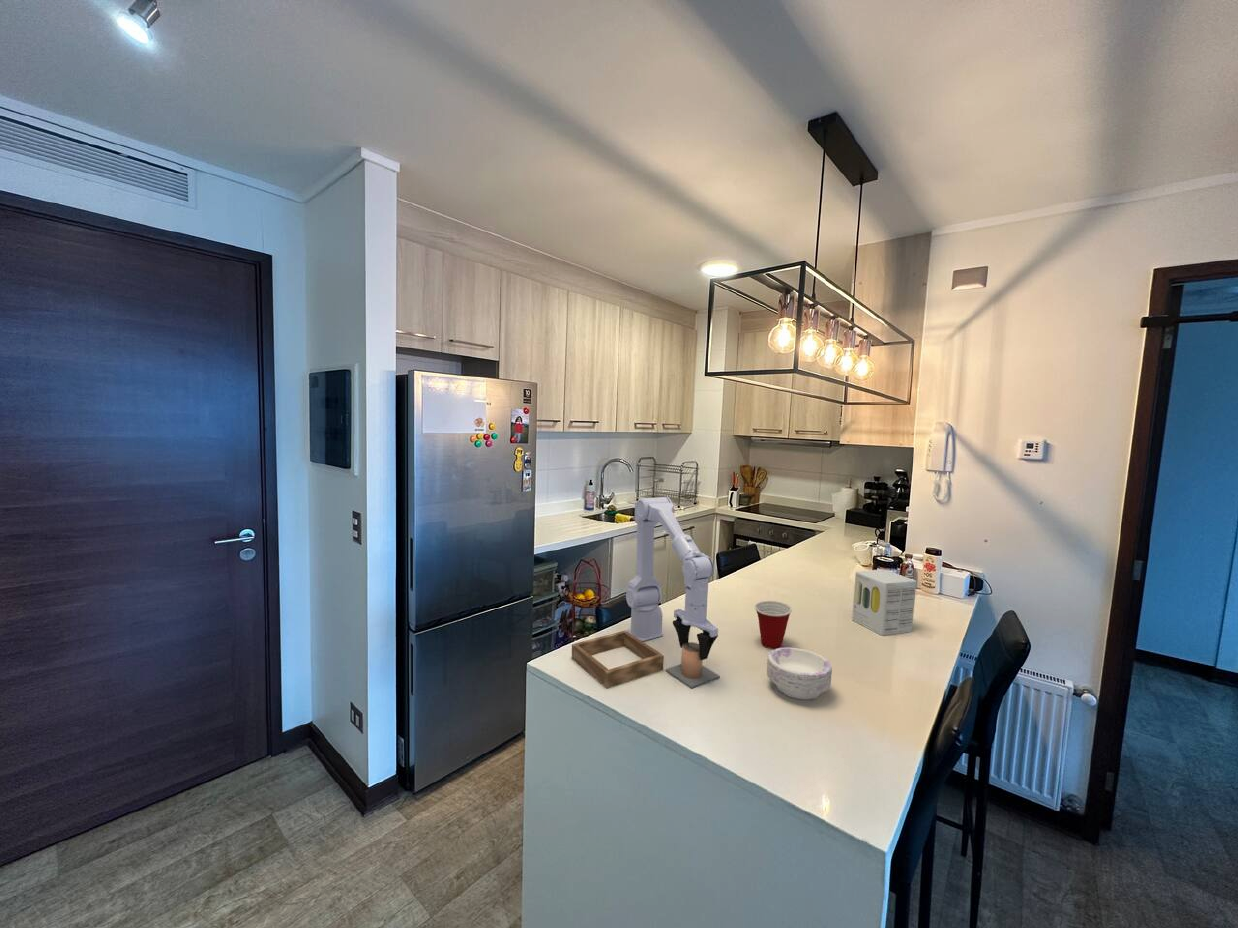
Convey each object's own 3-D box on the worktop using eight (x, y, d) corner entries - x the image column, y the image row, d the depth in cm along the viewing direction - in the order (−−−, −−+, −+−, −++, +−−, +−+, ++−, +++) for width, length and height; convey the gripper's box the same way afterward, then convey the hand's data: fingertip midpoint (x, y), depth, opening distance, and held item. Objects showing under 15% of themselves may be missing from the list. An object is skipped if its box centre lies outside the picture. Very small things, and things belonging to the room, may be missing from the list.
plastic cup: (745, 639, 151) (747, 601, 150) (773, 634, 154) (776, 598, 153) (767, 655, 140) (769, 615, 139) (797, 650, 144) (800, 611, 143)
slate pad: (693, 661, 135) (693, 659, 135) (719, 678, 127) (720, 675, 127) (665, 671, 129) (665, 669, 129) (691, 688, 121) (691, 686, 121)
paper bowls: (776, 668, 133) (778, 640, 132) (835, 687, 124) (838, 657, 124) (757, 692, 121) (759, 661, 120) (821, 715, 112) (824, 682, 111)
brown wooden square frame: (624, 643, 145) (625, 630, 144) (663, 669, 130) (663, 655, 130) (571, 658, 135) (571, 644, 134) (606, 688, 120) (607, 672, 120)
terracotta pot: (693, 666, 131) (695, 640, 131) (706, 675, 126) (707, 649, 126) (676, 670, 129) (678, 644, 128) (688, 680, 124) (690, 653, 123)
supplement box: (850, 620, 169) (854, 570, 167) (880, 616, 173) (884, 568, 171) (882, 636, 156) (886, 583, 155) (913, 632, 160) (917, 580, 159)
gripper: (666, 596, 130) (664, 645, 131) (704, 615, 118) (701, 668, 119) (685, 591, 134) (683, 639, 135) (725, 609, 122) (722, 661, 123)
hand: (693, 652), depth 127 cm, fingers open, 7 cm apart
